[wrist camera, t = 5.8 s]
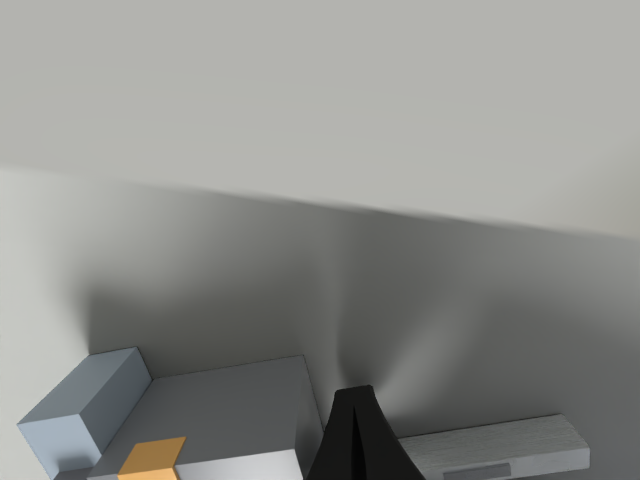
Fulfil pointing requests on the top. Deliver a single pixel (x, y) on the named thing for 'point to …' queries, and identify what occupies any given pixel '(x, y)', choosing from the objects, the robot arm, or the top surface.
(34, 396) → the top surface
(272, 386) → the module
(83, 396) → the end clamp
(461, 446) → the rail
